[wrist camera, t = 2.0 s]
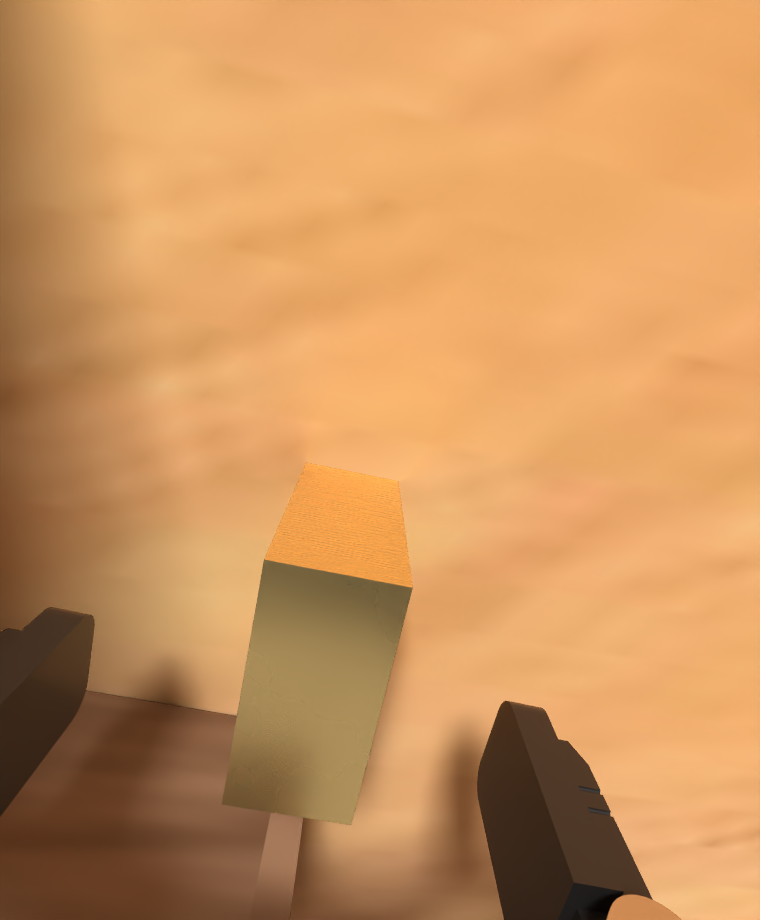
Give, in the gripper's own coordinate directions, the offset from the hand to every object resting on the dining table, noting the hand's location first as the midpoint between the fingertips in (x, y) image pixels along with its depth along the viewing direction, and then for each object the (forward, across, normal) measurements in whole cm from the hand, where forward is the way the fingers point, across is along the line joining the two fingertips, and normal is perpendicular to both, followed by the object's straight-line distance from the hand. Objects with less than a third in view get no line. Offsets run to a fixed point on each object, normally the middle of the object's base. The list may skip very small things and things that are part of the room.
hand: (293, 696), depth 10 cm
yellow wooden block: (+4, 0, -1) cm, 5 cm away
